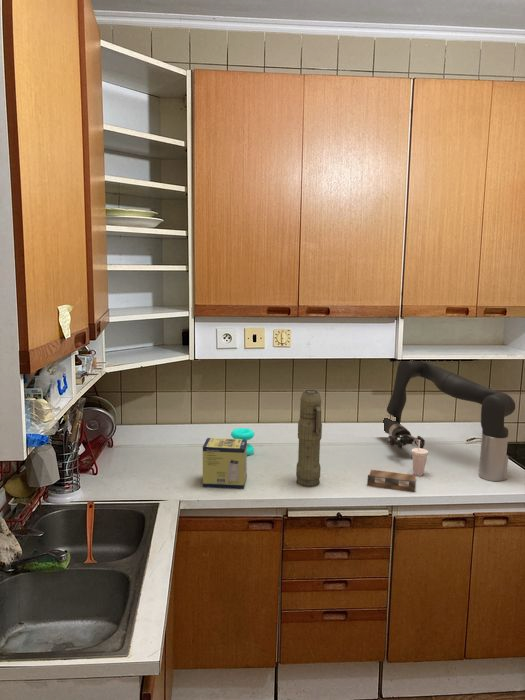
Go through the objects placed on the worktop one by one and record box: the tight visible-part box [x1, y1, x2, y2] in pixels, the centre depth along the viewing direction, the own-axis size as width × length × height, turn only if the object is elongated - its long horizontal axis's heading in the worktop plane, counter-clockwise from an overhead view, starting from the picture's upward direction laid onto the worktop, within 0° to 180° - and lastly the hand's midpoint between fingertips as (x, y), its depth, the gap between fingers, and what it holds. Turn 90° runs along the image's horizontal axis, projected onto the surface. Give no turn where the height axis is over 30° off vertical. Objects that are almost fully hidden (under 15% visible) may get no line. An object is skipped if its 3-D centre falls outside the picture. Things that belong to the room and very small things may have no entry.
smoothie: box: [411, 440, 429, 477], centre depth 210 cm, size 6×6×14 cm
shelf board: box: [366, 469, 417, 493], centre depth 202 cm, size 17×13×4 cm
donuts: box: [230, 427, 255, 457], centre depth 230 cm, size 10×10×10 cm
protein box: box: [202, 437, 248, 490], centre depth 198 cm, size 10×16×16 cm
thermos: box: [295, 389, 323, 488], centre depth 198 cm, size 9×12×35 cm
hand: (411, 446), depth 220 cm, fingers open, 8 cm apart
